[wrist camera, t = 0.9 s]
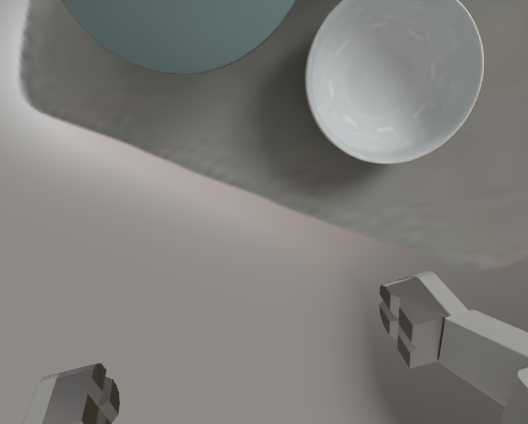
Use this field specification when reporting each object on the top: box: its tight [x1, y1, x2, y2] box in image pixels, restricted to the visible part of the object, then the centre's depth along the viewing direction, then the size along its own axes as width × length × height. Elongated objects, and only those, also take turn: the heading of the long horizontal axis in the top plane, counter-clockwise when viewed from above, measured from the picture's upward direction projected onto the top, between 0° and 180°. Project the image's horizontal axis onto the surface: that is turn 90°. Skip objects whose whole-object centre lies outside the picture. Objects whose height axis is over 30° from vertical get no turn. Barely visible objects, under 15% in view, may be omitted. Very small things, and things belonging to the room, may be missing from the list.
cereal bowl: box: [305, 0, 484, 164], centre depth 38 cm, size 17×17×7 cm
